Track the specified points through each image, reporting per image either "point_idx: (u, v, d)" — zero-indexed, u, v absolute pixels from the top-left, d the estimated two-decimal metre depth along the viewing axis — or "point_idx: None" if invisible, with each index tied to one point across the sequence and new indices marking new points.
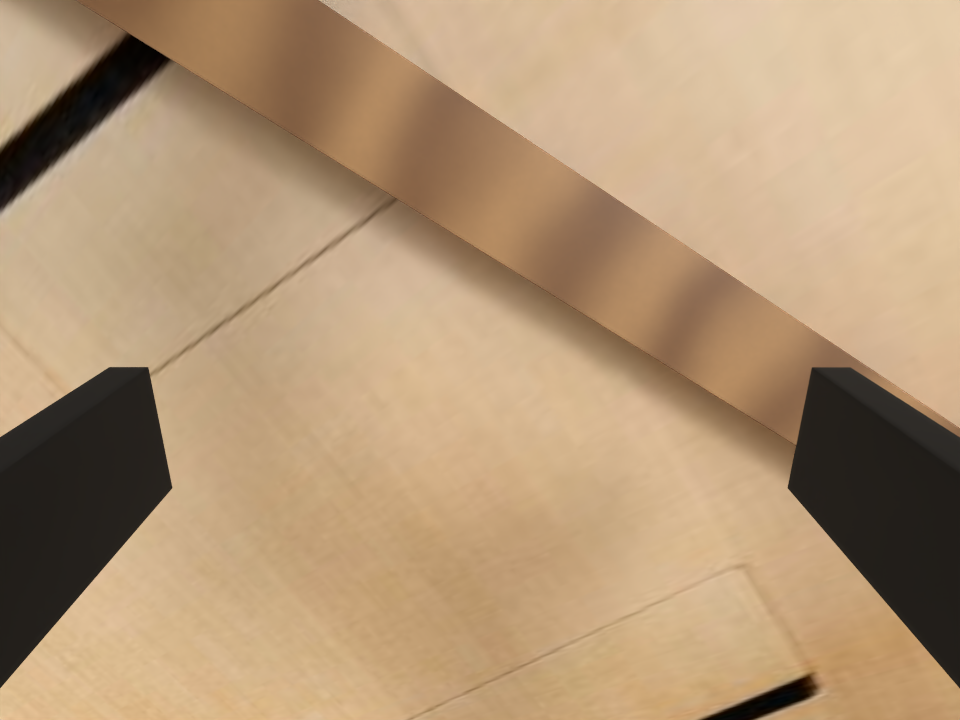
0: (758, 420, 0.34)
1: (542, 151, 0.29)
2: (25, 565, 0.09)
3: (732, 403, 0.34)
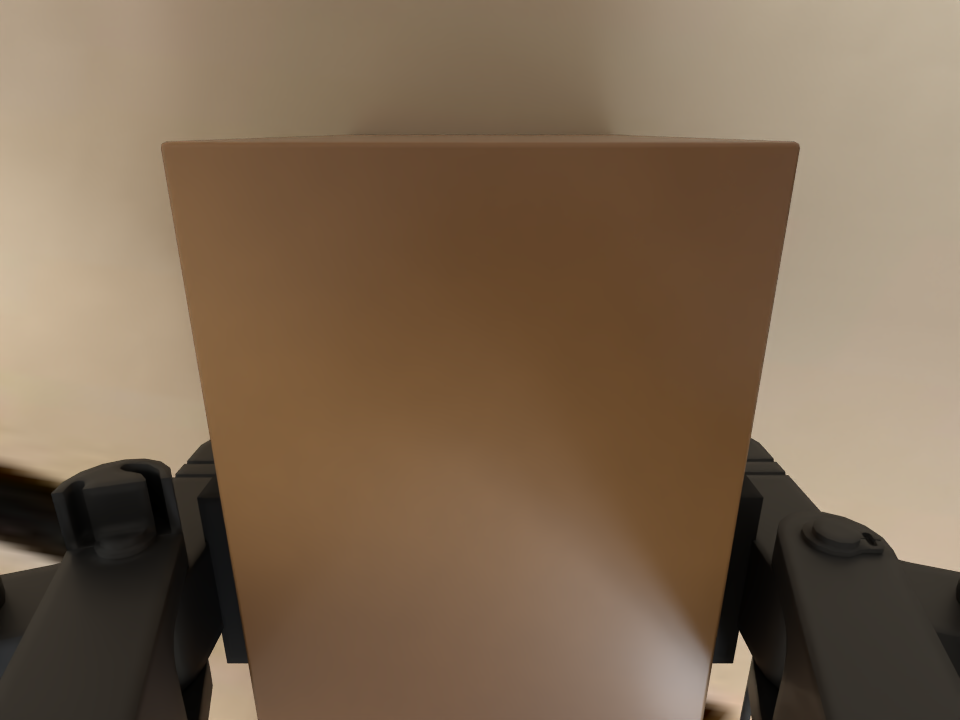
0: None
1: None
2: None
3: None
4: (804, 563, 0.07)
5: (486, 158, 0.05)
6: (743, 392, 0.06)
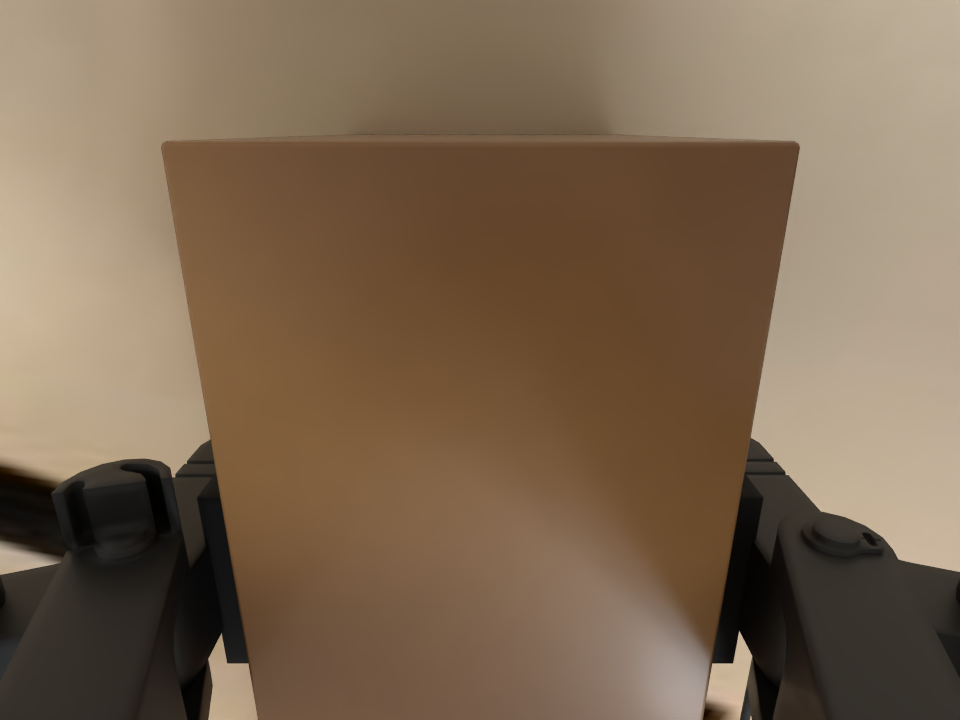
0: None
1: None
2: None
3: None
4: (804, 563, 0.07)
5: (486, 158, 0.05)
6: (743, 392, 0.06)
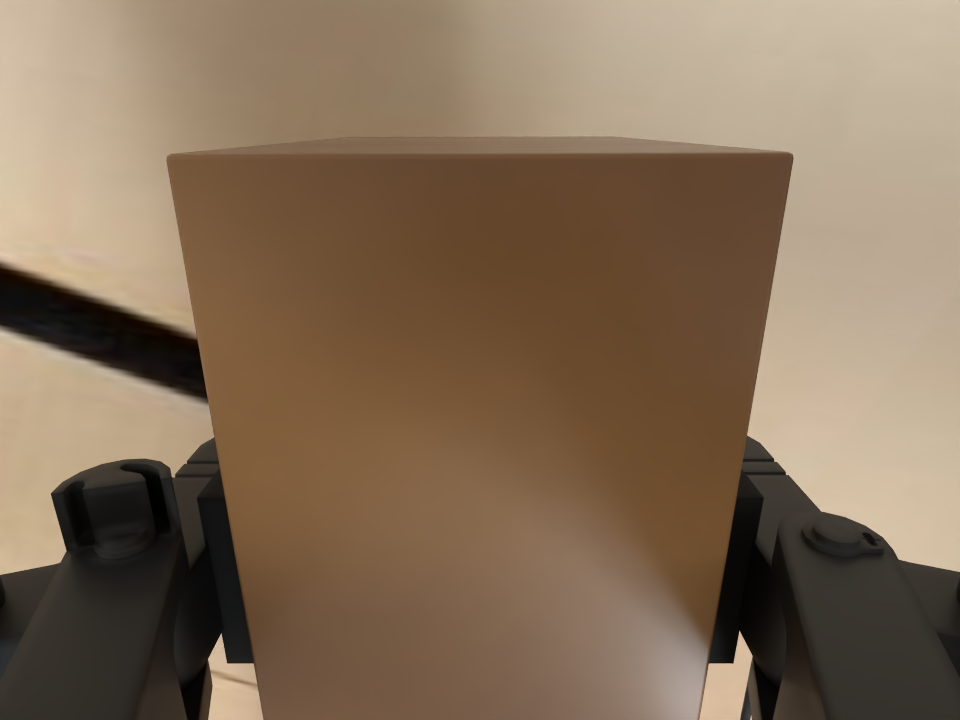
0: None
1: None
2: None
3: None
4: (804, 563, 0.07)
5: (484, 169, 0.06)
6: (738, 398, 0.06)
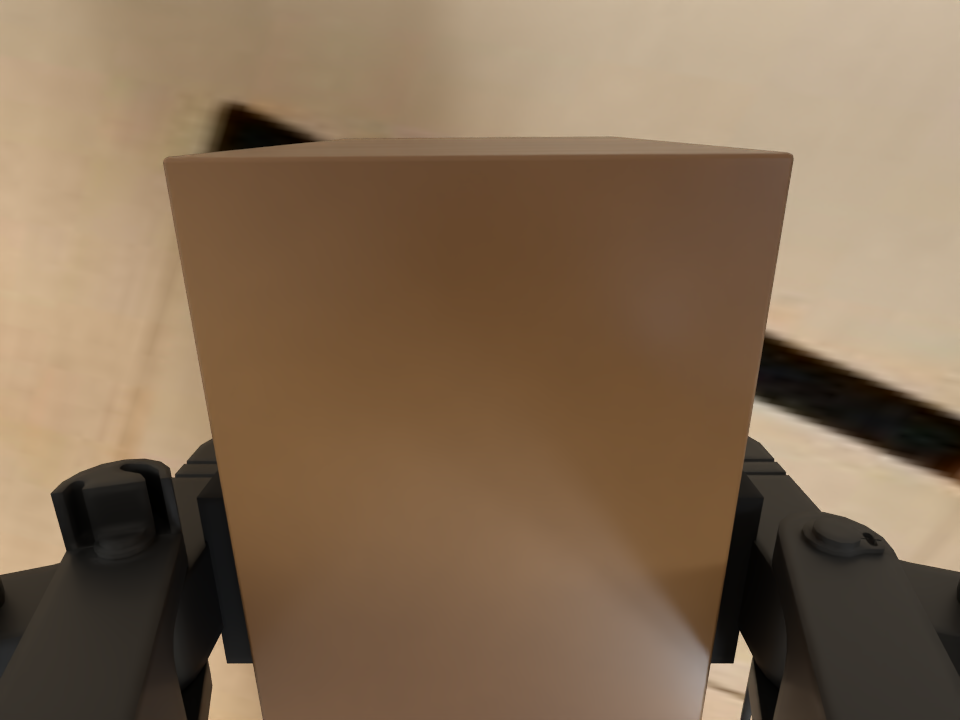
0: None
1: None
2: None
3: None
4: (804, 563, 0.07)
5: (483, 171, 0.05)
6: (738, 400, 0.06)
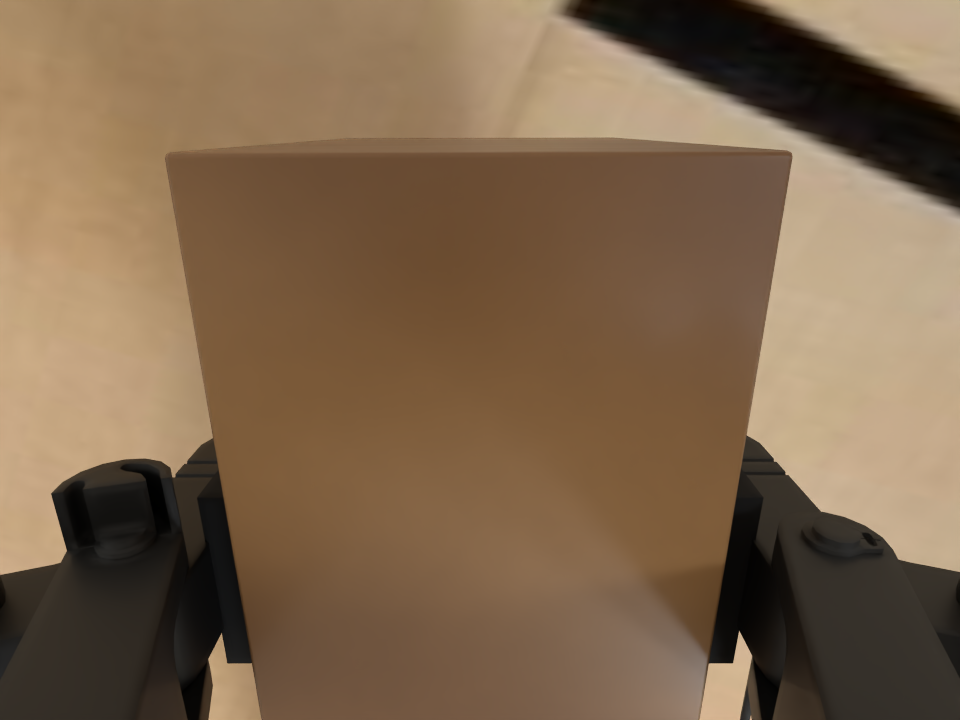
0: None
1: None
2: None
3: None
4: (804, 563, 0.07)
5: (484, 168, 0.06)
6: (738, 397, 0.06)
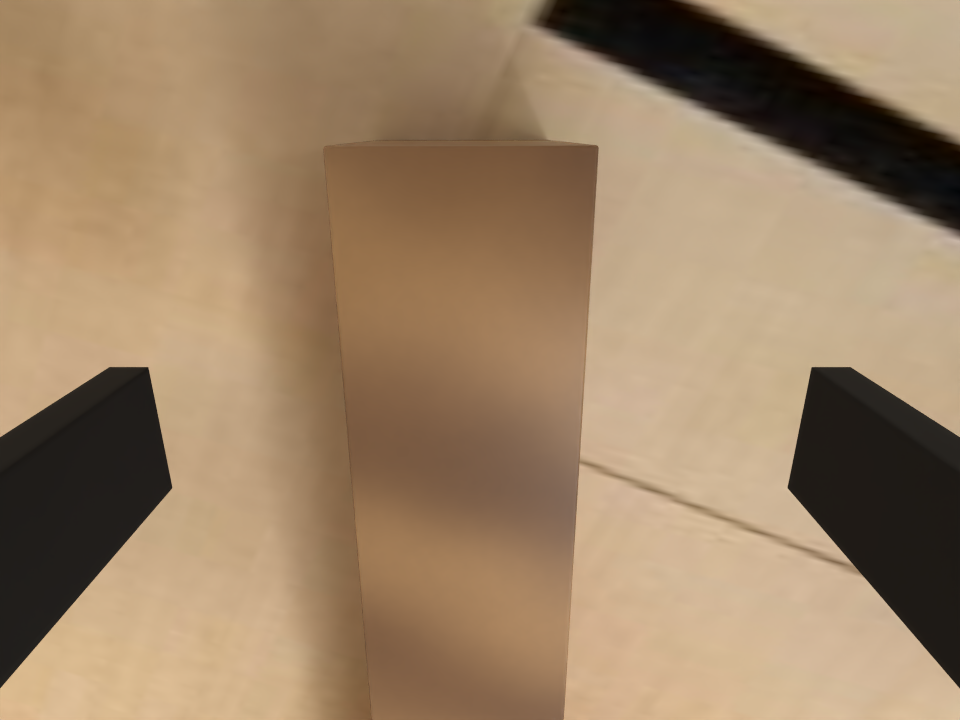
0: None
1: None
2: (25, 565, 0.09)
3: None
4: None
5: (464, 152, 0.13)
6: (584, 261, 0.13)
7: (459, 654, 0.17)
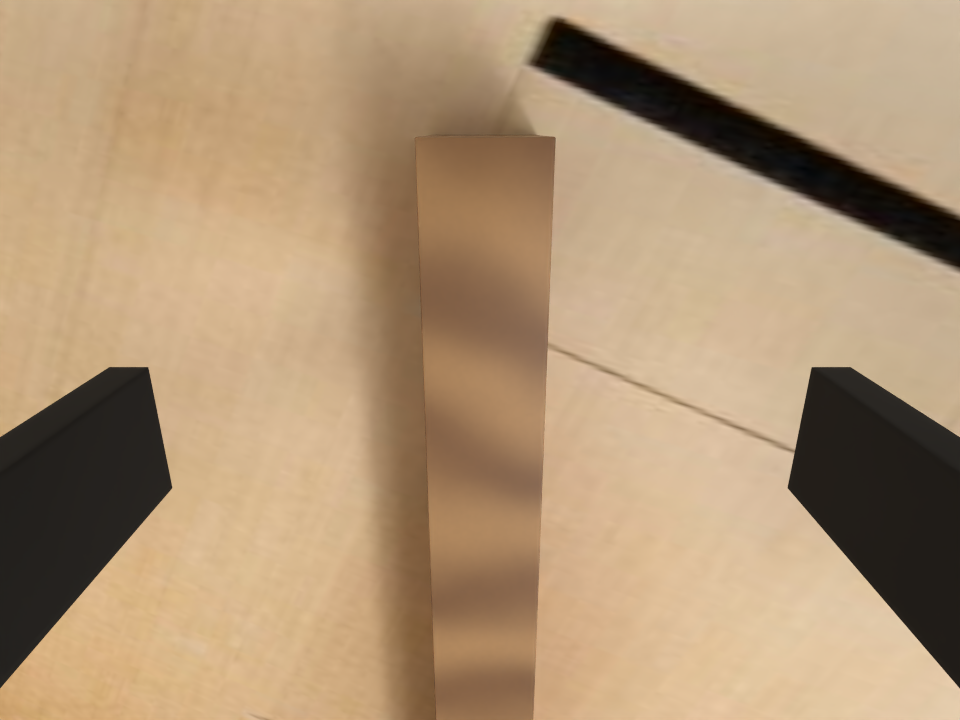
0: None
1: None
2: (25, 565, 0.09)
3: None
4: None
5: (486, 140, 0.25)
6: (549, 198, 0.25)
7: (480, 436, 0.29)
